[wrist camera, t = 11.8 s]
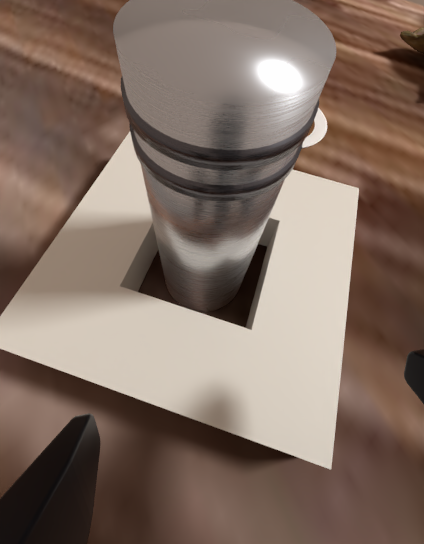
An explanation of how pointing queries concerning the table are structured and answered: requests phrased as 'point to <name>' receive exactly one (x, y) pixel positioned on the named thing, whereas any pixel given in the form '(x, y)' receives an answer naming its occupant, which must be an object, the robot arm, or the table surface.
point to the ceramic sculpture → (414, 39)
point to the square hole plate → (199, 314)
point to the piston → (217, 126)
